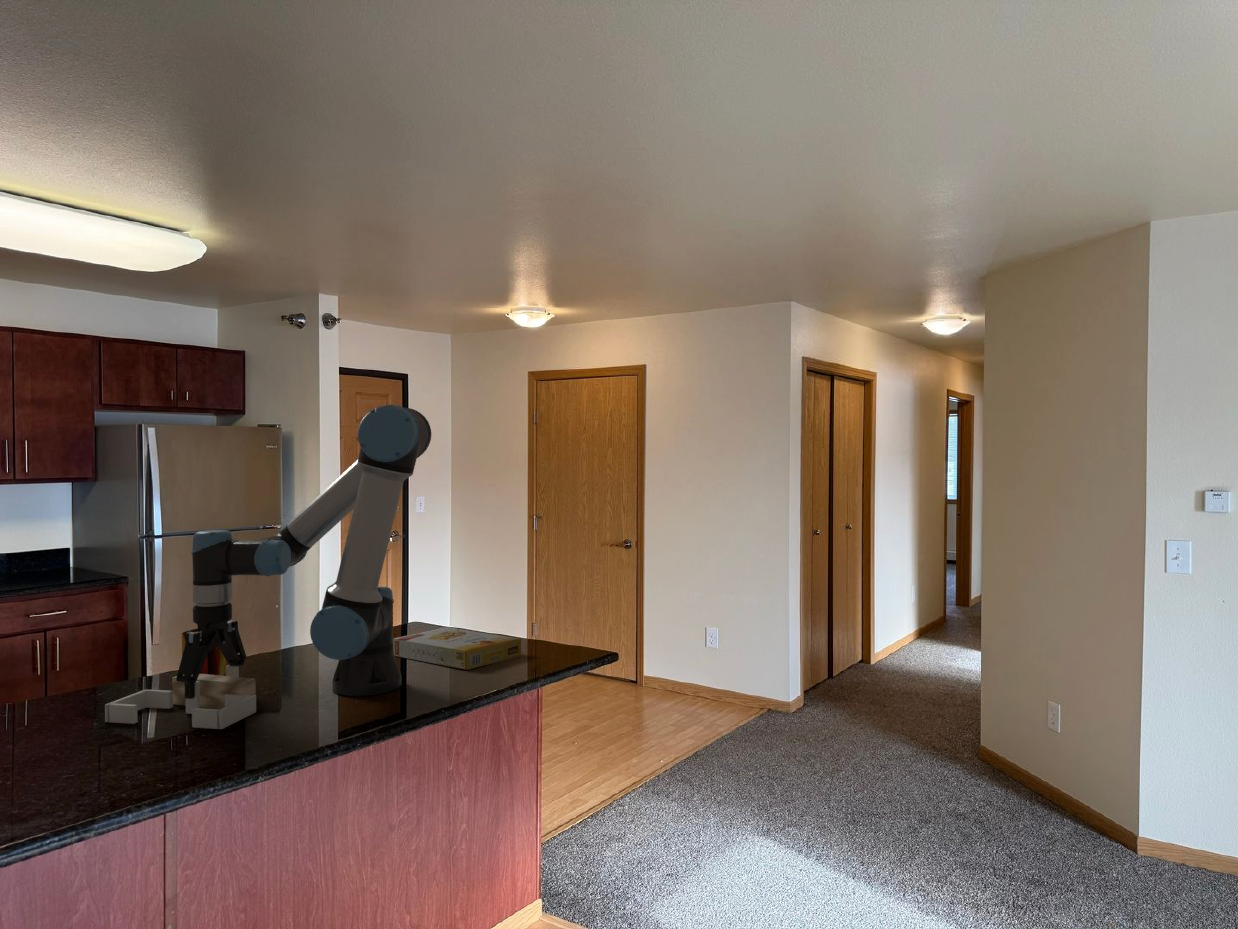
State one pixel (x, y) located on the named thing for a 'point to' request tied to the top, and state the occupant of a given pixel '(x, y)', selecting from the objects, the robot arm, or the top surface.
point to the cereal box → (457, 647)
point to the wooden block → (214, 689)
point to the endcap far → (137, 705)
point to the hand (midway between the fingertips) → (213, 704)
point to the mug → (210, 659)
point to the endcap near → (225, 712)
